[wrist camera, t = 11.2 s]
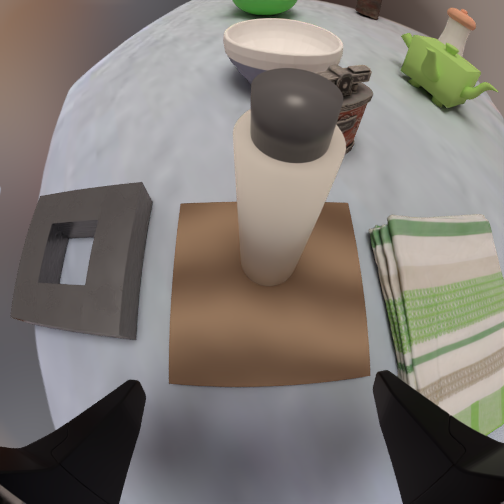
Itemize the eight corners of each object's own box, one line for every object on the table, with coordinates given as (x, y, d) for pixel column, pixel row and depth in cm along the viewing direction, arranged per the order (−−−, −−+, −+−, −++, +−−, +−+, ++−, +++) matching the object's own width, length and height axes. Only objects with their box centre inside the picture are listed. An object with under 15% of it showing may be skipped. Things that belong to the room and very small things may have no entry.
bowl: (211, 69, 32) (206, 25, 25) (296, 54, 35) (301, 16, 28) (254, 121, 27) (256, 63, 20) (354, 100, 30) (368, 54, 23)
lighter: (300, 176, 24) (320, 86, 15) (279, 153, 25) (289, 65, 16) (358, 150, 26) (389, 75, 17) (338, 130, 27) (360, 56, 18)
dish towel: (476, 222, 23) (493, 207, 20) (510, 408, 15) (531, 407, 11) (360, 231, 23) (375, 210, 19) (394, 480, 14) (414, 493, 10)
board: (364, 375, 17) (370, 375, 16) (172, 382, 17) (168, 383, 16) (344, 209, 23) (347, 202, 22) (183, 209, 23) (180, 203, 22)
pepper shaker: (422, 61, 40) (445, -1, 22) (433, 60, 41) (455, 4, 24) (448, 80, 37) (475, 17, 20) (456, 78, 39) (482, 21, 21)
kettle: (474, 131, 30) (502, 87, 20) (407, 100, 31) (431, 44, 21) (449, 87, 36) (468, 48, 25) (390, 61, 37) (405, 17, 27)
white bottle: (280, 296, 19) (341, 152, 6) (230, 269, 20) (203, 101, 7) (304, 250, 20) (372, 88, 7) (257, 226, 21) (268, 52, 8)
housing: (136, 339, 18) (118, 335, 16) (30, 324, 18) (10, 317, 15) (152, 202, 23) (142, 182, 20) (54, 211, 23) (40, 196, 20)
